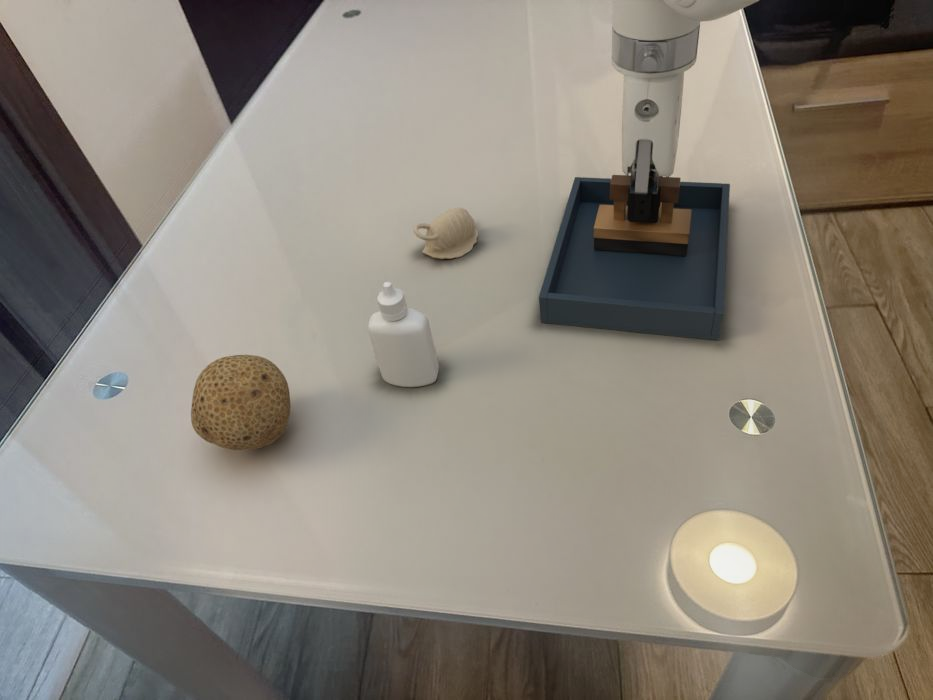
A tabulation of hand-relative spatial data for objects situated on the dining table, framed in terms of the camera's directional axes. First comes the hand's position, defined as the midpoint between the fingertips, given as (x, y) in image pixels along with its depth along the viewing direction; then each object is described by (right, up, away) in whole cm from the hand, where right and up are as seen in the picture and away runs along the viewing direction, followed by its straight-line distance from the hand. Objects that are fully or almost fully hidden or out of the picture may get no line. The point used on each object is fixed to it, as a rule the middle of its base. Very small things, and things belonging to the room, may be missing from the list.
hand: (643, 212), depth 77 cm
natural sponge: (-39, -23, -9) cm, 46 cm away
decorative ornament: (-21, -3, +8) cm, 23 cm away
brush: (0, -3, +3) cm, 4 cm away
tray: (0, -5, +2) cm, 6 cm away
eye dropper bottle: (-25, -18, -6) cm, 31 cm away
